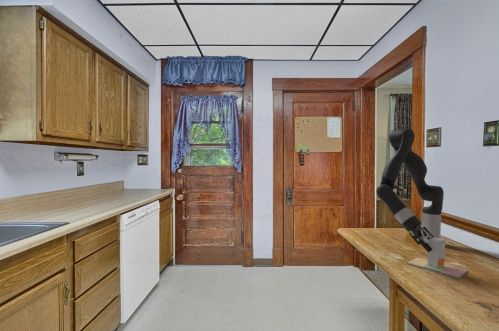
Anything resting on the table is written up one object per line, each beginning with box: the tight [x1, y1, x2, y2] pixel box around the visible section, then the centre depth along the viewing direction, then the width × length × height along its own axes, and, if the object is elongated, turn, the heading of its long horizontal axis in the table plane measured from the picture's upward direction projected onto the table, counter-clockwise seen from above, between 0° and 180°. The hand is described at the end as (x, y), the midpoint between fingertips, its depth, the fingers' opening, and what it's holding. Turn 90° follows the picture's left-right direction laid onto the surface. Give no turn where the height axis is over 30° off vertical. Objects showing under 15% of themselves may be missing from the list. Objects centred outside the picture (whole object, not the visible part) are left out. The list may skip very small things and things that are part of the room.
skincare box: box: [426, 238, 446, 268], centre depth 126 cm, size 6×4×12 cm
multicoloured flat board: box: [406, 257, 469, 280], centre depth 126 cm, size 12×20×1 cm, turn 39°
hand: (434, 249), depth 127 cm, fingers open, 8 cm apart
